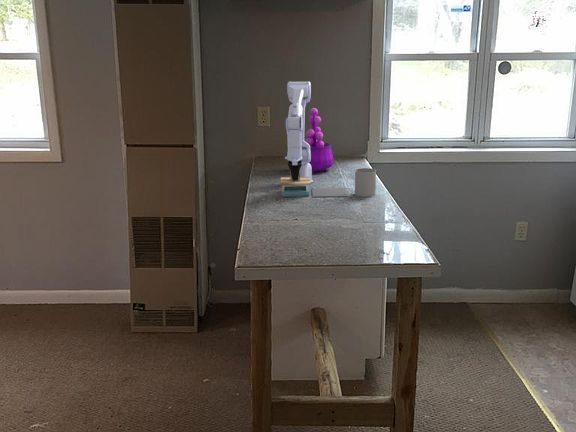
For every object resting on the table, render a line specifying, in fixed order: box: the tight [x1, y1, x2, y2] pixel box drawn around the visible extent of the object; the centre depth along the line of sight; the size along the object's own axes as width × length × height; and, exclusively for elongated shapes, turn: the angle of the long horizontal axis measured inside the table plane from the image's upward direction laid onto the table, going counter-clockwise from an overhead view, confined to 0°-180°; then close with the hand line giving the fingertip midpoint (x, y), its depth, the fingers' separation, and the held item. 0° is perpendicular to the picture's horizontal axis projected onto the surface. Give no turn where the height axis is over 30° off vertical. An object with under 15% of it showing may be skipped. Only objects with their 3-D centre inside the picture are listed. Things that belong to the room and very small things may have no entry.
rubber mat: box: [311, 187, 348, 198], centre depth 254 cm, size 14×14×1 cm
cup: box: [354, 167, 377, 198], centre depth 250 cm, size 8×8×10 cm
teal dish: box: [281, 185, 310, 198], centre depth 254 cm, size 11×11×2 cm
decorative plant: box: [302, 107, 334, 172], centre depth 294 cm, size 19×18×30 cm
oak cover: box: [279, 170, 311, 187], centre depth 252 cm, size 12×12×5 cm
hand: (295, 179), depth 253 cm, fingers closed on oak cover, 4 cm apart
